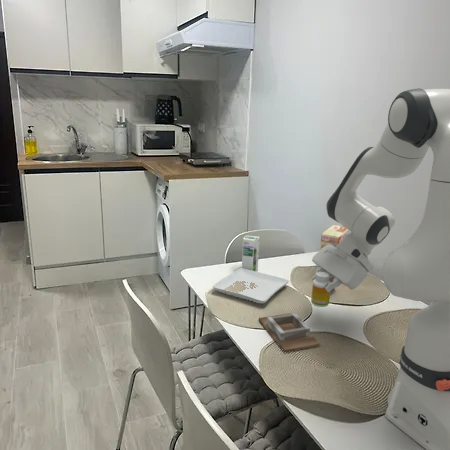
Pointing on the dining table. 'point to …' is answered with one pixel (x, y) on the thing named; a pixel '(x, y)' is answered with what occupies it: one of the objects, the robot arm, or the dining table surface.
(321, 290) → the supplement bottle
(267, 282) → the salad plate
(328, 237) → the coffeecake box
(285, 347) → the socket board
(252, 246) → the syrup box
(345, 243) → the robot arm
